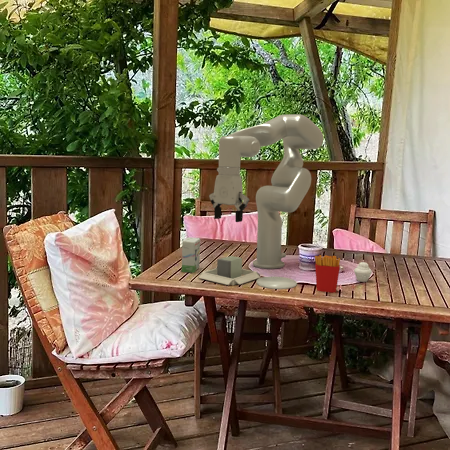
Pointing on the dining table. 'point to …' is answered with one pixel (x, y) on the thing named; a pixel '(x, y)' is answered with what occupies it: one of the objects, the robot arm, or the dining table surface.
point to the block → (229, 267)
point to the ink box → (190, 254)
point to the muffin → (362, 272)
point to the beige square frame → (246, 277)
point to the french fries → (327, 273)
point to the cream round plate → (276, 282)
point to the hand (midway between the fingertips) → (228, 220)
